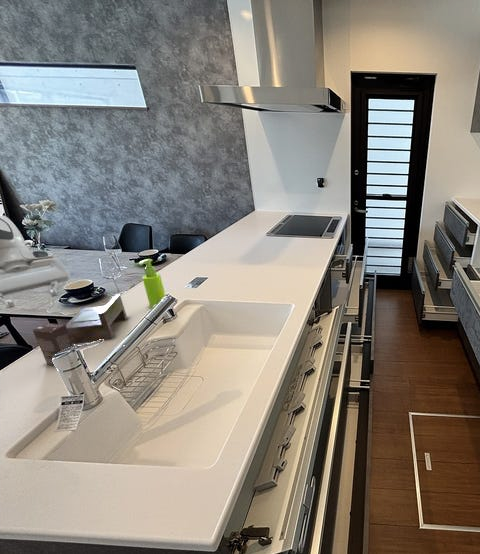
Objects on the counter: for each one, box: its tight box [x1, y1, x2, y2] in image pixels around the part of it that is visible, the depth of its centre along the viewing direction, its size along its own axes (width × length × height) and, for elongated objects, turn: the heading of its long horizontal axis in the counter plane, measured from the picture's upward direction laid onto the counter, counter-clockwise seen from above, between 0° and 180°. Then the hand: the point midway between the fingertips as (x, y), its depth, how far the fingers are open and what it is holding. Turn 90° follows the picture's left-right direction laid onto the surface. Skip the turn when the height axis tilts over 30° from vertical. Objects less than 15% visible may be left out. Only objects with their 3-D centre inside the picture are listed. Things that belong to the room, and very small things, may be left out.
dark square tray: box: [65, 294, 128, 345], centre depth 105 cm, size 12×14×10 cm
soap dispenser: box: [136, 258, 166, 309], centre depth 121 cm, size 6×7×20 cm
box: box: [32, 322, 75, 366], centre depth 90 cm, size 6×4×12 cm
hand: (34, 301), depth 91 cm, fingers open, 8 cm apart
